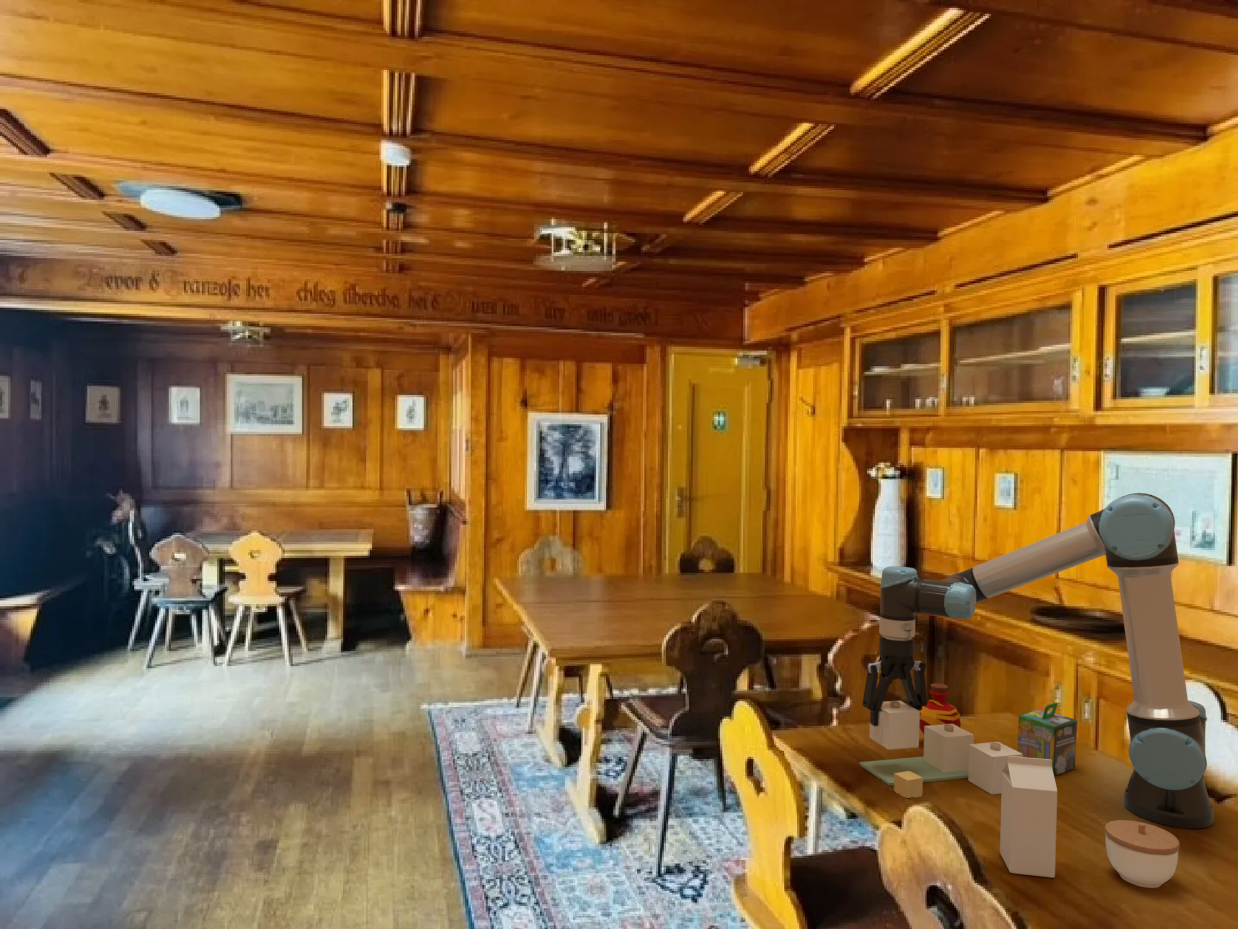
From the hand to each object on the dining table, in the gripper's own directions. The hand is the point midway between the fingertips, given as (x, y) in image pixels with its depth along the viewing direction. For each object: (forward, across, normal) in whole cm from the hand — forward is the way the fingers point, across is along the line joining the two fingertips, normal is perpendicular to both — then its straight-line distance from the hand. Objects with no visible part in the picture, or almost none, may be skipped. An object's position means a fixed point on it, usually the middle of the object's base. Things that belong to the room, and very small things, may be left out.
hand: (893, 738), depth 186 cm
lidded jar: (+8, +15, -50) cm, 53 cm away
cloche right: (+8, +18, -11) cm, 22 cm away
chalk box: (+8, +37, -4) cm, 38 cm away
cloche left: (+1, 0, 0) cm, 1 cm away
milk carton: (+8, -1, -42) cm, 43 cm away
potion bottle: (+8, +20, +12) cm, 25 cm away
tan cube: (+8, -3, -11) cm, 14 cm away
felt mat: (+8, +7, 0) cm, 11 cm away
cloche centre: (+7, +14, 0) cm, 16 cm away
